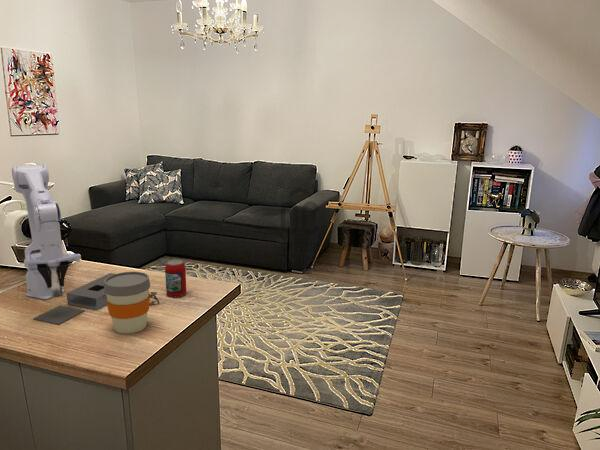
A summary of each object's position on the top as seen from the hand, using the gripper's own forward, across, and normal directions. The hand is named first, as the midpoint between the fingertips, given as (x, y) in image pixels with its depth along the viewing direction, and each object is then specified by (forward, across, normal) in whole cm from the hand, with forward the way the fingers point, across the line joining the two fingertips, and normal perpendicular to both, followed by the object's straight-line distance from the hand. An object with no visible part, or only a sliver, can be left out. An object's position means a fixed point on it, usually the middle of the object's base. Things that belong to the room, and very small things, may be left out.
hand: (55, 286), depth 135 cm
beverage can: (+10, +36, +2) cm, 37 cm away
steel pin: (+3, 0, 0) cm, 3 cm away
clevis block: (+10, +13, +10) cm, 20 cm away
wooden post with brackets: (+10, +25, -3) cm, 27 cm away
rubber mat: (+10, 0, 0) cm, 10 cm away
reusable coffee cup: (+10, +19, -16) cm, 27 cm away
